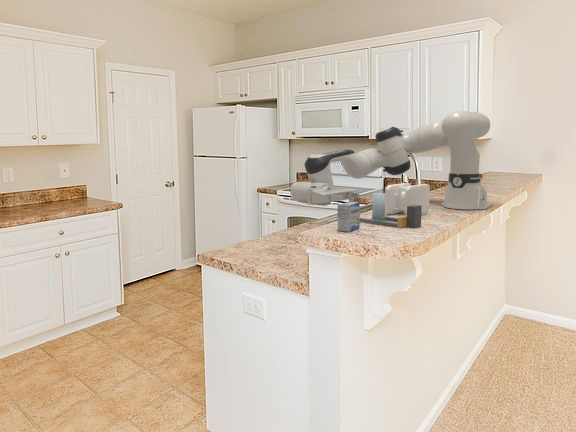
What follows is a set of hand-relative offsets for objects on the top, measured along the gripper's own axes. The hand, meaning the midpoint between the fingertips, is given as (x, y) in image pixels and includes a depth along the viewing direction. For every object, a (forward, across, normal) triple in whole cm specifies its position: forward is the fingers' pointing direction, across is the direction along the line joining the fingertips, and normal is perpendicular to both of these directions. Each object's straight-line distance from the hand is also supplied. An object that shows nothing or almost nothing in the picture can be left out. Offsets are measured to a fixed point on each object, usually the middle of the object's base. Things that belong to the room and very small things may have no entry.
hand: (350, 197), depth 171 cm
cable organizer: (+11, -20, -8) cm, 24 cm away
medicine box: (+14, +18, -8) cm, 24 cm away
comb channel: (+18, 0, -8) cm, 19 cm away
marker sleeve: (+12, 0, -8) cm, 15 cm away
